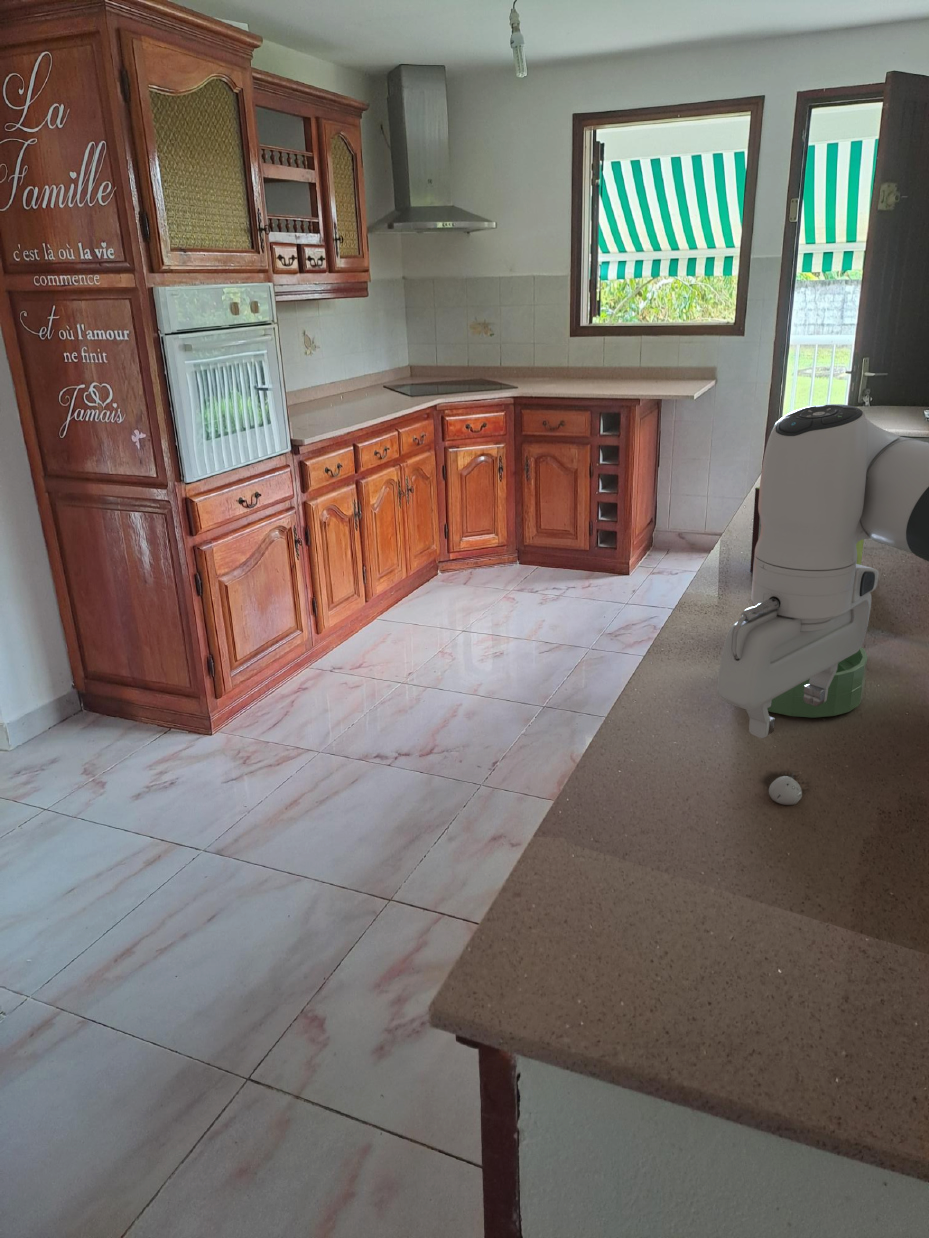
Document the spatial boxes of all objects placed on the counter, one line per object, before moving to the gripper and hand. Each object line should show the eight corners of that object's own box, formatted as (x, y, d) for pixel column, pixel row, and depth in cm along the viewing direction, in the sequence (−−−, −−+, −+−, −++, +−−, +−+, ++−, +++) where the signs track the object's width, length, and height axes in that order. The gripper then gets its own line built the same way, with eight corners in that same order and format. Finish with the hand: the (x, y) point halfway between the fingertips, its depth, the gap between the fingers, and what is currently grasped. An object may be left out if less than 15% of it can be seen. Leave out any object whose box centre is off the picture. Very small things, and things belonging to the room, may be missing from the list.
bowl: (884, 692, 110) (890, 649, 108) (820, 734, 102) (824, 688, 99) (776, 658, 121) (779, 618, 119) (709, 694, 113) (711, 651, 111)
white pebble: (805, 792, 91) (807, 770, 90) (796, 812, 88) (798, 789, 87) (773, 785, 92) (775, 763, 91) (763, 804, 89) (765, 781, 88)
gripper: (767, 624, 73) (755, 767, 78) (888, 568, 85) (871, 696, 90) (704, 605, 78) (697, 742, 83) (827, 555, 90) (814, 677, 95)
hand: (788, 717), depth 87 cm, fingers open, 8 cm apart
